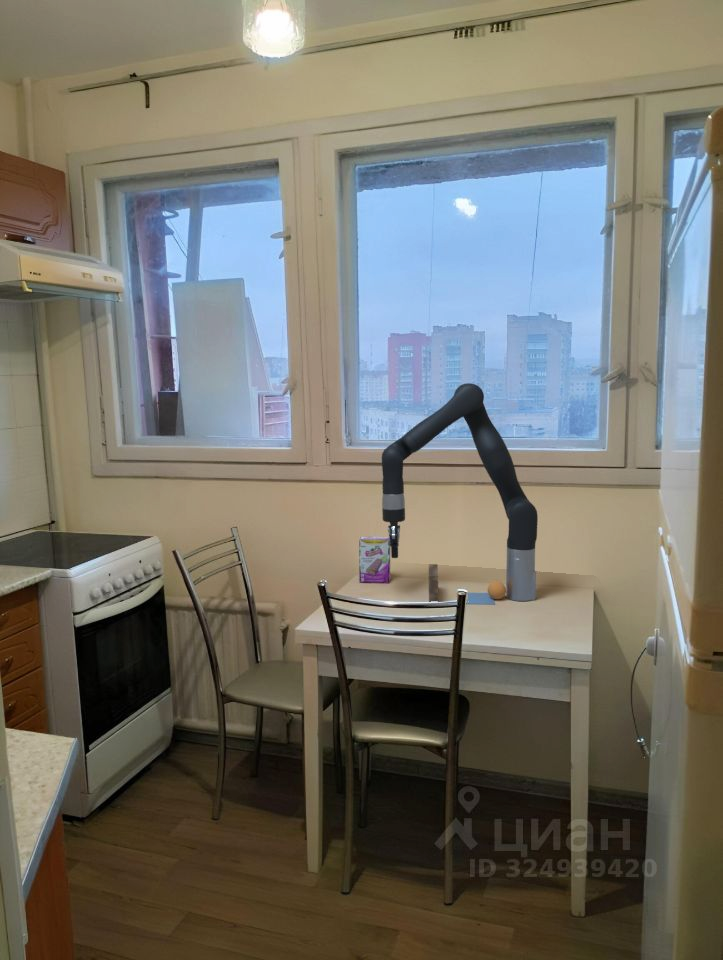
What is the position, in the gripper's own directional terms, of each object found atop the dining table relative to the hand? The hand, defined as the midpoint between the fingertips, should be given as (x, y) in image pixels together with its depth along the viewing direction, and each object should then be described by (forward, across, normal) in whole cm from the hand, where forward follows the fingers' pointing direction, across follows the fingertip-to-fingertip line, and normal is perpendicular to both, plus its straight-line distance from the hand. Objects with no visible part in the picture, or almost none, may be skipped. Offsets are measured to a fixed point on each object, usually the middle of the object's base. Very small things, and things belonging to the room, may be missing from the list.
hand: (394, 557), depth 237 cm
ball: (+12, 0, -34) cm, 36 cm away
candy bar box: (+14, +19, +8) cm, 25 cm away
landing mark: (+14, 0, -27) cm, 30 cm away
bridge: (+14, 0, -13) cm, 19 cm away
